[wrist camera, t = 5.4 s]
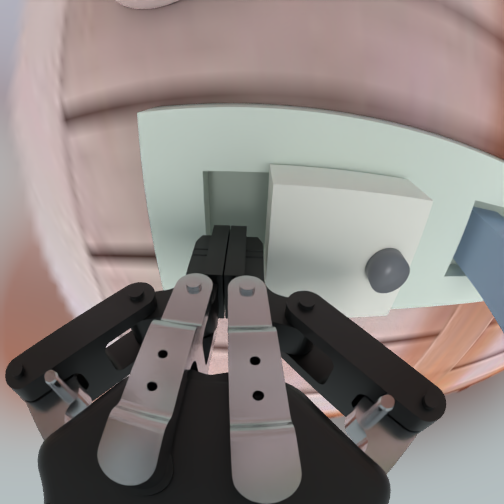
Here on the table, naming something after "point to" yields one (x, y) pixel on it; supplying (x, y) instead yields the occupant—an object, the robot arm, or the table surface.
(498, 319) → the peg
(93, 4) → the table surface
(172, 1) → the beer glass
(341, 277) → the lid
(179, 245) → the board
